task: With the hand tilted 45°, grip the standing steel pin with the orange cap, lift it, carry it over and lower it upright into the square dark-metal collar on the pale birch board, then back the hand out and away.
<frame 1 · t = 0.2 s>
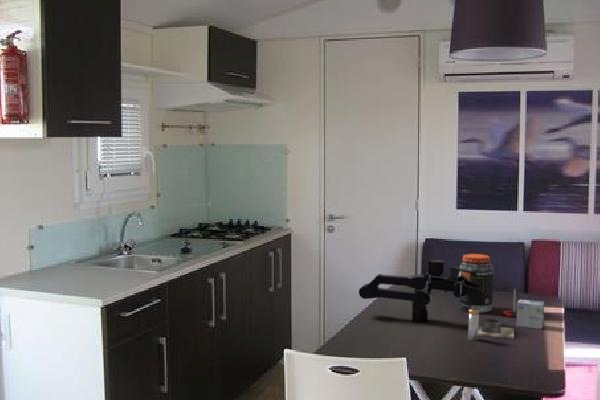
hand: (479, 288, 300), 17 cm above the table, tool horizontal, fingers open, 9 cm apart
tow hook: (512, 315, 322), on the table
pin: (473, 338, 282), on the table
supplement tub: (474, 310, 330), on the table
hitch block: (491, 332, 291), on the table
light bulb box: (529, 326, 302), on the table
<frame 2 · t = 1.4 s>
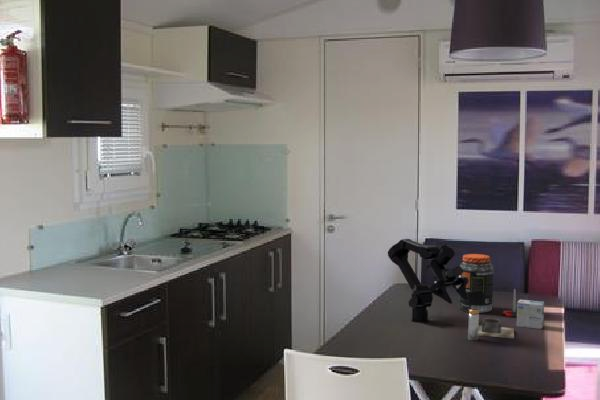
hand: (459, 301, 287), 14 cm above the table, tool tilted 45°, fingers open, 9 cm apart
nothing on the table moved.
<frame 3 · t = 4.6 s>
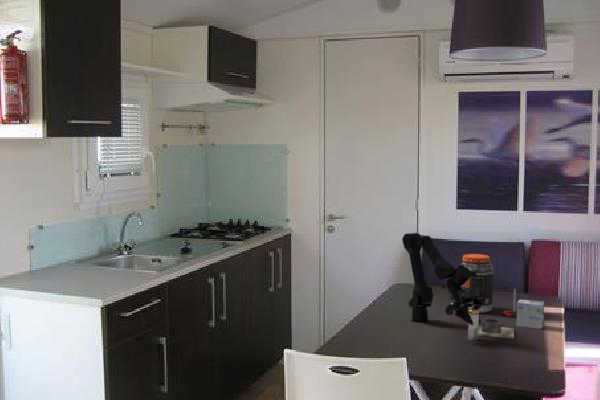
hand: (476, 323, 280), 7 cm above the table, tool tilted 45°, fingers closed on pin, 4 cm apart
pin: (473, 338, 282), on the table, touching gripper
everything else where it was.
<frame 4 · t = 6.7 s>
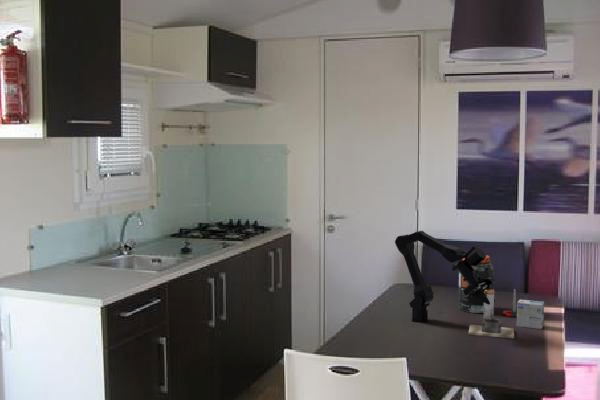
hand: (491, 303, 286), 13 cm above the table, tool tilted 45°, fingers closed on pin, 4 cm apart
pin: (488, 318, 288), point 7 cm above the table, touching gripper
everything else where it was.
when the fingers open (8 cm above the table, at t = 9.1 s): pin stays where it is, resting on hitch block.
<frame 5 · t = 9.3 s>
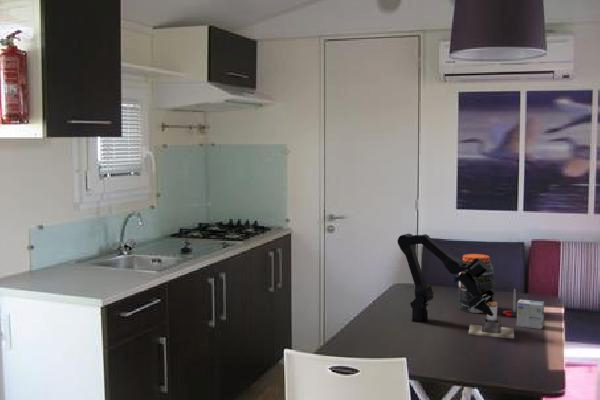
hand: (495, 314, 290), 8 cm above the table, tool tilted 45°, fingers open, 6 cm apart
pin: (491, 330, 291), point 1 cm above the table, touching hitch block
everything else where it was.
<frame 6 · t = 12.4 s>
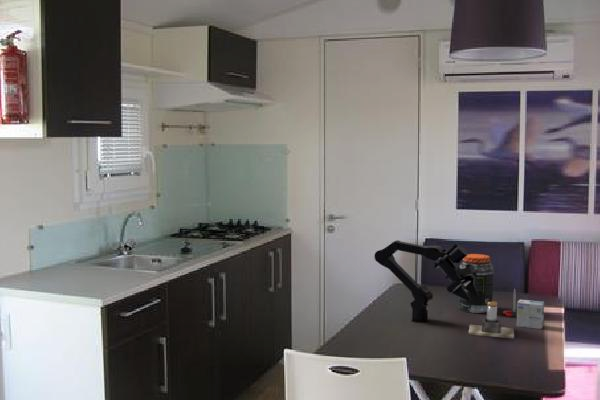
hand: (474, 298, 295), 13 cm above the table, tool tilted 45°, fingers open, 9 cm apart
nothing on the table moved.
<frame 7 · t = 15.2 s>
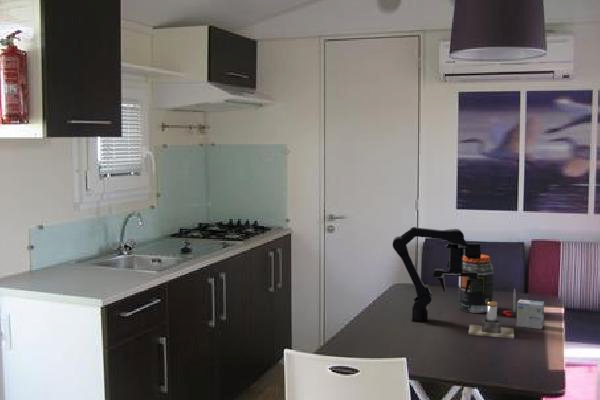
hand: (455, 293, 306), 13 cm above the table, tool pointing down, fingers open, 9 cm apart
nothing on the table moved.
at the end: pin 0.0 cm off-centre on the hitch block, point 1.0 cm above the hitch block's base; pin tilted 0°; the gripper is holding nothing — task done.
